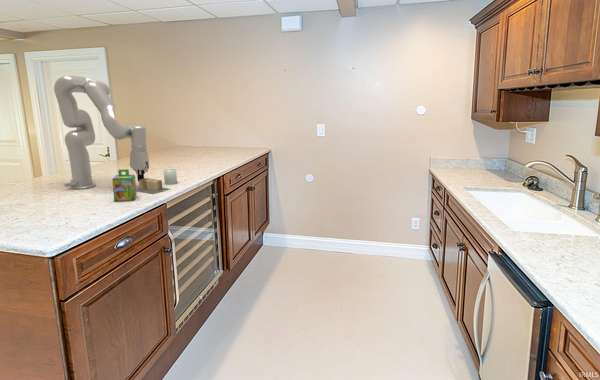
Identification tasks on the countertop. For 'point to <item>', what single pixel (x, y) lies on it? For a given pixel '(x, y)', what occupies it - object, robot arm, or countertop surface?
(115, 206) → the countertop surface
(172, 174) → the white small cylinder
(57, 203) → the countertop surface
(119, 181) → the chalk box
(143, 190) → the mat
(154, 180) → the block
